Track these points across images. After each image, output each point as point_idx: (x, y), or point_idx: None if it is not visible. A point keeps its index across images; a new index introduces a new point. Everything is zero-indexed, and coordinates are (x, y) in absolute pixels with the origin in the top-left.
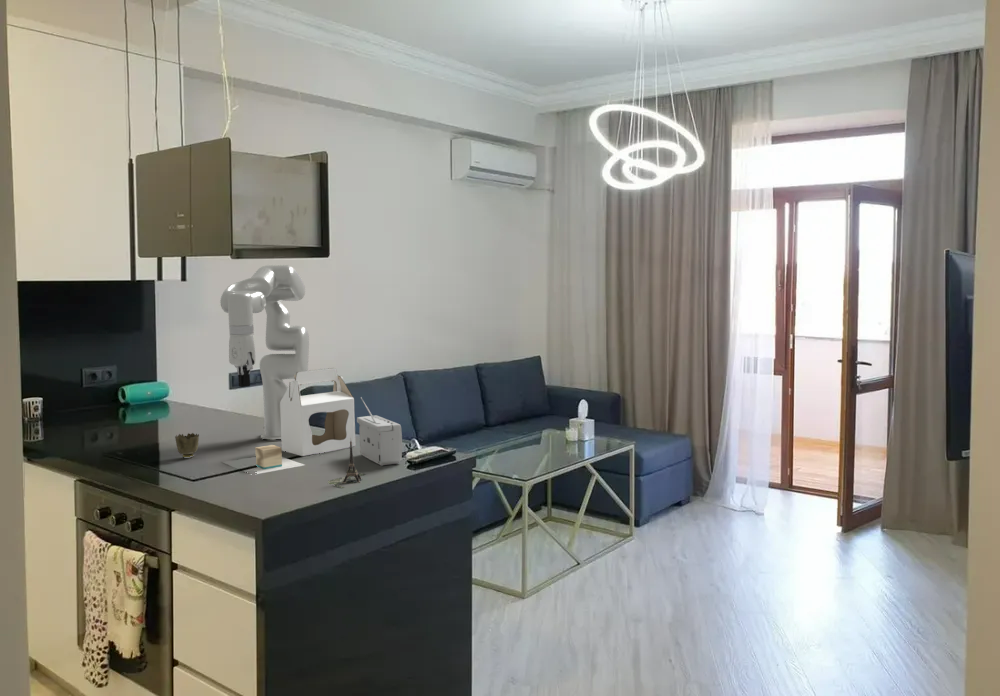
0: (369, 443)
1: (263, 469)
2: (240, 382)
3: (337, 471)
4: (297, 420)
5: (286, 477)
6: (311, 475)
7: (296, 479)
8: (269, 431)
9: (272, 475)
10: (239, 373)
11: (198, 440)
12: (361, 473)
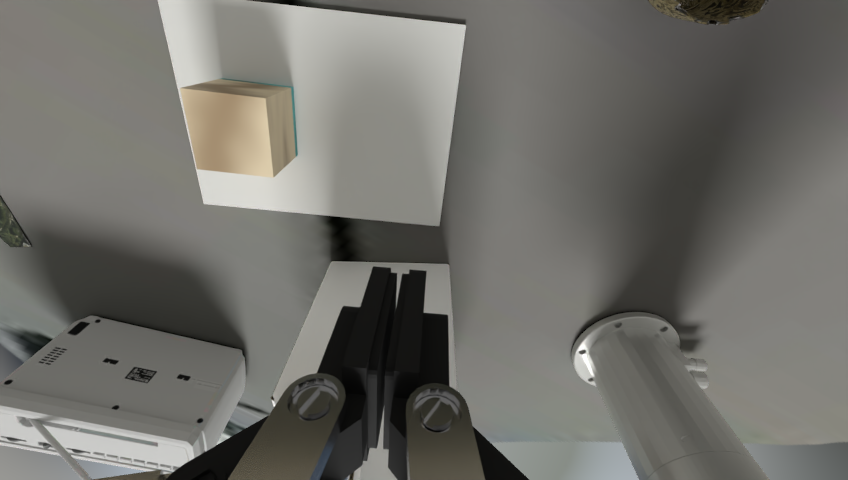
0: (140, 366)
1: (222, 75)
2: (373, 293)
3: (83, 220)
4: (324, 342)
5: (71, 71)
6: (64, 144)
7: (24, 78)
8: (631, 341)
9: (127, 53)
10: (410, 399)
11: (670, 11)
12: (22, 244)
